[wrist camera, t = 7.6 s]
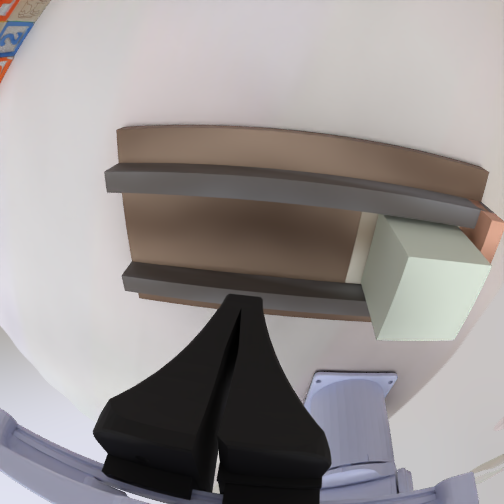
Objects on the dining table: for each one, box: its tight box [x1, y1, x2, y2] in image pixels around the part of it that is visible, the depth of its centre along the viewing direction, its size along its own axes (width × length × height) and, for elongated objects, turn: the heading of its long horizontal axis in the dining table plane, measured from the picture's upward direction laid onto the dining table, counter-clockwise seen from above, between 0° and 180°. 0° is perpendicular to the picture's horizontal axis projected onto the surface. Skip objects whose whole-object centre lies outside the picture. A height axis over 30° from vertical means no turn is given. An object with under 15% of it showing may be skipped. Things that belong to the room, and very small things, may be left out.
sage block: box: [361, 214, 492, 341], centre depth 15 cm, size 5×5×5 cm
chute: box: [104, 125, 504, 322], centre depth 17 cm, size 12×22×4 cm, turn 87°
